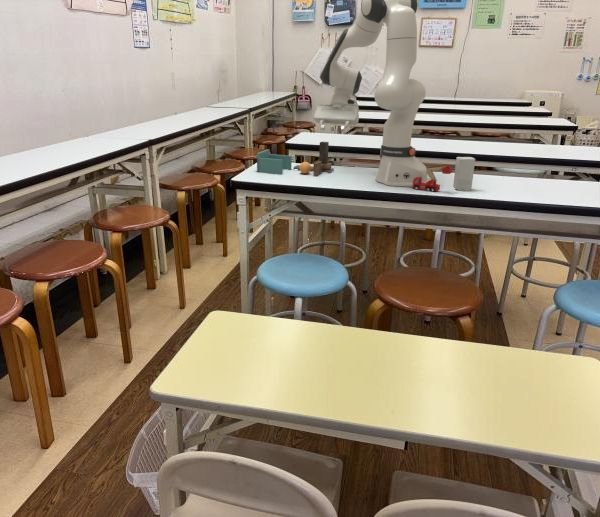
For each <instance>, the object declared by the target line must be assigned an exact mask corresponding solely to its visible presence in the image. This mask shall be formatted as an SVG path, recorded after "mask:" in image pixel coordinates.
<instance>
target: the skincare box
mask: <svg viewBox="0 0 600 517" xmlns="http://www.w3.org/2000/svg"><path fill="white" fill-rule="evenodd" d="M455 158H456V159H455V165H454V166H455V167H454V177H453V185H452V187H454V188H455V189H471V190H472V187H473V179H474V173H475V165H476V164H475V163H476V158H474V157H472V156H457V157H455ZM454 188H453V189H454ZM455 189H454V190H455Z"/></svg>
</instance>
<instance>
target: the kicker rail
mask: <svg viewBox="0 0 600 517" xmlns="http://www.w3.org/2000/svg"><path fill="white" fill-rule="evenodd" d="M313 166H314V165H311V170H310V172H312V171H313ZM299 167H300V164H297V165H295V166H293V170H294V169H299ZM298 171H300V169H299V170H298ZM332 171H333V172H334V171H335V168H334V167H331V168H330V169H321V173H323V172H328V173H327V174H332V173H333V172H332Z"/></svg>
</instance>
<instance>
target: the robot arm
mask: <svg viewBox="0 0 600 517" xmlns="http://www.w3.org/2000/svg"><path fill="white" fill-rule="evenodd" d="M417 11H418V0H361V3H360V8H359V11H358V13H357V16H356V18H355V22H354V23H353V24H352V25H351V26H350V27H349V28H345V29H344V30H343V31H342V33H341V34H340V36H339V37H338V39H337V41H336V43H335V45H334V46H333V49H331V52H330V54H329V56H328V58H327V59H326V61H325V62H324V63H323V65H322V66H321V69H320V72H319V80H321V82H322V84H323V85H327V86H330V87H331V86H332V87H333V88H334V91H333V95H332V97H331V100H330V103H329V104H320V105H318V106H317V107H316V110H315V112H314V115H313V119H314V122H315V123H316V124H317V123H318V124H320V130H321V131H325V129H326V126H325V124H331V125H332V124H333V125H341V126H340V132H342V133H343V132H345V131H346V130H347V129H348V128H349V127H350V126H355V125H358V124H359V120H360V115H359V114H360V113H359V112H360V110H359V109H360V108H359V104H358V102H357V101H356V100H354V99H352V98H353V96H354V95H356V94H357V93H358V92H359V91H360V86H361V83H362V80H363V76H362V73H361V71H360V70H359V69H356V68H354V67H353V68H352V67H350V66H346V65H344V64H341V63H338V61H339V59H340V57H341V55H342V54H343V52H344V50H347V49H351V48H365V47H368V46H371V45H373V44H374V43H375V42H377V40H378V38H379V36H380V34H381V31H382V29H383V27H384V26H383V25H384V24H385V25H386V49H385V50H386V51H385V53H386V56H385V66H384V71H383V74H382V77H381V80H380V83H379V84H378V85H377V87H375V91H374V101H375V103H376V105H377V106H378V107H379V108H381V109H384V110H387V111H390V113H389V115H388V118H387V120H386V121H385V122H384V124H383V131H382V143H381V145H380V153H379V157H380V158H379V159H380V161H379V166H378V171H377V175H376V176H375V177H376V178H375V181H376V182H379V183H381V184H383V185H385V186H388V187H389V186H391V187H392V186H393V187H410V188H412V187H413V180H414V178H416V177H422V179H421V183H426V182H428V181H430V180H431V179H430V177H429V176H428V174H427V173H426V171H427V170H428V169H427V167H426V165H425V164H424V163H423V162H422V161H420V160H419V159H418V158H417V157H416V156H415V155H416V148H415V147H413V146H412V145H411V143H412V136H413V127H414V123H415V119H416V117H417V116H416V115H417V113H418V110H419V108H420V106H421V104H423V102H424V101H425V98H426V93H427V92H426V87H425V86H424V85H425V84H423V83H422V82H421V81H419V80H416V79H413V78H410V76H411V72H412V68H413V66H414V65H415V64H416V62H417V52H418V50H417V48H418V47H417V45H418V26H417V17H416V13H417Z"/></svg>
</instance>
